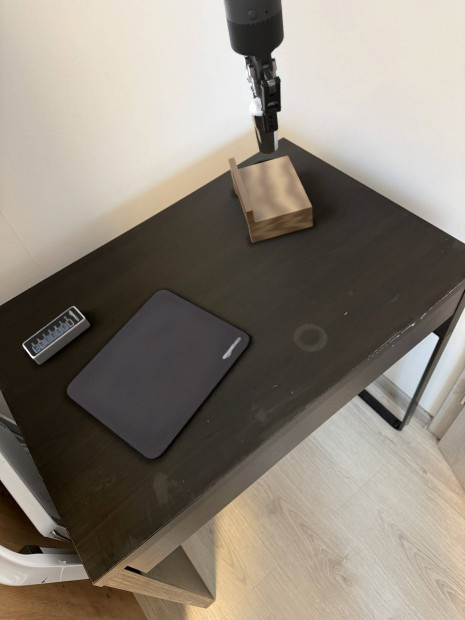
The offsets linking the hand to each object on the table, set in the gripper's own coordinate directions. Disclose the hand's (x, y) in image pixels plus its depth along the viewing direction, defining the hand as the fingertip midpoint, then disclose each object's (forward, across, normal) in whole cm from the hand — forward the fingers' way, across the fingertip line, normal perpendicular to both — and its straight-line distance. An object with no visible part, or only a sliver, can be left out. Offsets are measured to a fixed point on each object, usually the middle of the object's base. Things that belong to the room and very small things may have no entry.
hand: (266, 121), depth 76 cm
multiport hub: (+21, -15, +45) cm, 52 cm away
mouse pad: (+21, -26, +28) cm, 43 cm away
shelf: (+21, +3, 0) cm, 21 cm away
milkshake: (+6, 0, 0) cm, 6 cm away
